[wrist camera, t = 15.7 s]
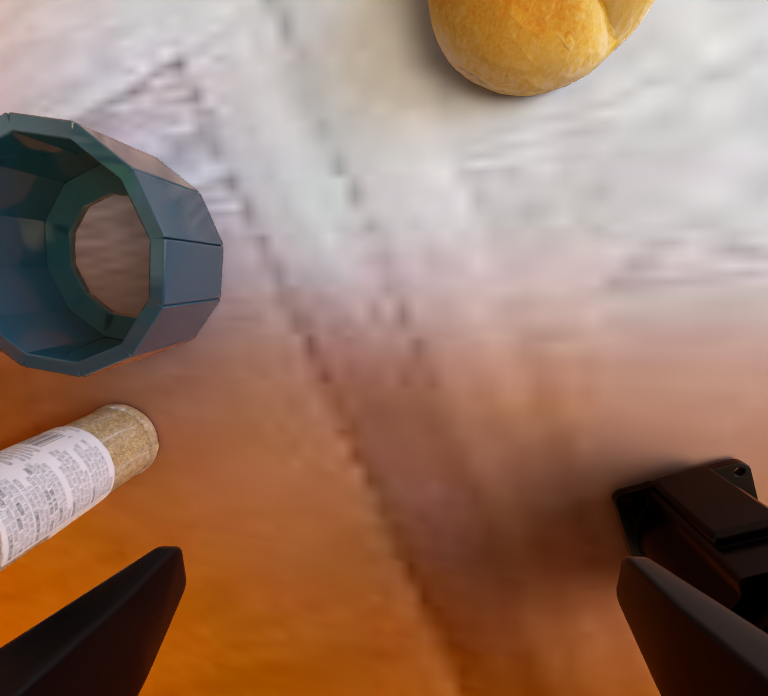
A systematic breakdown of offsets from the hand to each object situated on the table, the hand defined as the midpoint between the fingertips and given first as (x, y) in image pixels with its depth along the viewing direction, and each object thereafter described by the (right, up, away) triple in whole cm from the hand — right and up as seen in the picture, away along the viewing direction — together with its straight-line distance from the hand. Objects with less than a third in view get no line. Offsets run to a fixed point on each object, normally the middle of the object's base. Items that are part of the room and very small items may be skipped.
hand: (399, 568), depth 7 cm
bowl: (-14, +9, +12) cm, 21 cm away
